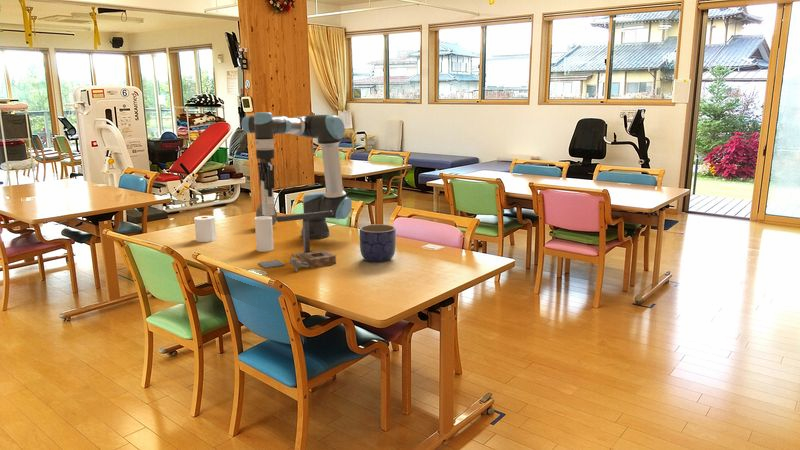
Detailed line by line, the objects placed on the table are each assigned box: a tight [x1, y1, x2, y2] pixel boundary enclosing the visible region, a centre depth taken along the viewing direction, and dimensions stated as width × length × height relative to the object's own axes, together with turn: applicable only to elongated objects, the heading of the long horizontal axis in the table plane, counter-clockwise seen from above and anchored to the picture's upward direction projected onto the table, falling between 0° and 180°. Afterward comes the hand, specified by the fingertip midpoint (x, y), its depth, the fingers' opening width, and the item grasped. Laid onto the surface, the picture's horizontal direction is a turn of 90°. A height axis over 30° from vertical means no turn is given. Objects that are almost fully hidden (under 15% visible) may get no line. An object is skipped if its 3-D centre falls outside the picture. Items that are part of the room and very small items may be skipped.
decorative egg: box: [255, 202, 278, 226], centre depth 323 cm, size 12×12×15 cm
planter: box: [358, 223, 397, 263], centre depth 258 cm, size 17×16×15 cm
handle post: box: [295, 220, 313, 259], centre depth 263 cm, size 8×8×17 cm
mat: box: [257, 259, 286, 270], centre depth 252 cm, size 9×9×1 cm
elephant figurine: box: [289, 253, 309, 273], centre depth 245 cm, size 10×6×9 cm
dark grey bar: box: [276, 210, 333, 223], centre depth 261 cm, size 3×28×4 cm, turn 121°
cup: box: [254, 216, 275, 253], centre depth 276 cm, size 8×8×16 cm
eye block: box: [299, 249, 337, 269], centre depth 255 cm, size 12×12×4 cm
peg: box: [260, 180, 275, 216], centre depth 245 cm, size 4×4×15 cm
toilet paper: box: [193, 215, 217, 243], centre depth 296 cm, size 10×10×12 cm
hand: (267, 203), depth 246 cm, fingers closed on peg, 4 cm apart
